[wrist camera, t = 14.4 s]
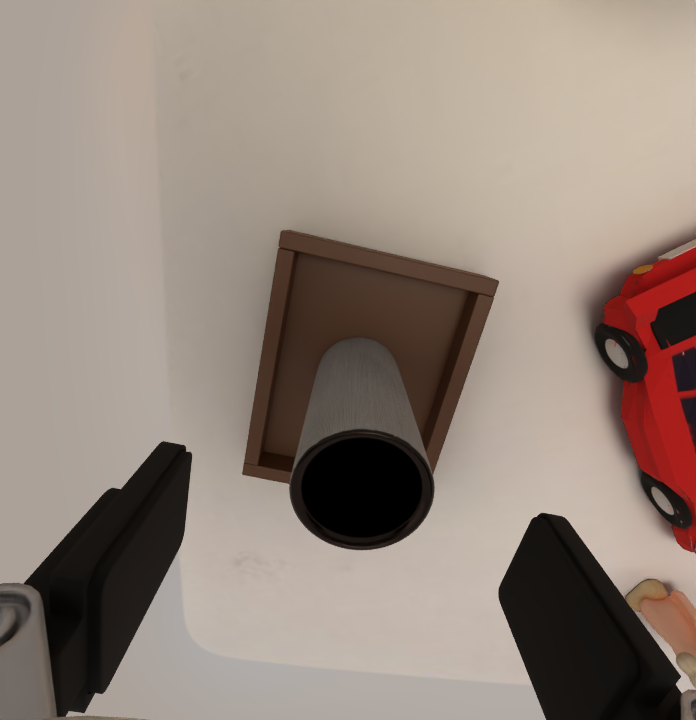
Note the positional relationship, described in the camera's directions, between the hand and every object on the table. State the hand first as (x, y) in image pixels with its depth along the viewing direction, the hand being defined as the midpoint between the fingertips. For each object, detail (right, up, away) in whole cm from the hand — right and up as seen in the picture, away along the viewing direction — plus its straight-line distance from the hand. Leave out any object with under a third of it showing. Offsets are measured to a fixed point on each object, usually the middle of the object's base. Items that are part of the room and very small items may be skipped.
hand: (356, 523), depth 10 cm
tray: (0, +4, +12) cm, 13 cm away
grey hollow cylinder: (0, +4, +12) cm, 12 cm away
